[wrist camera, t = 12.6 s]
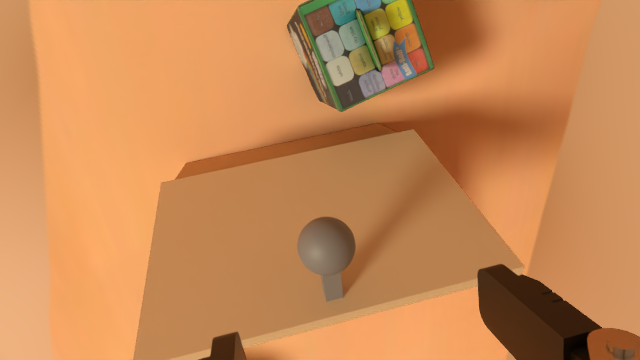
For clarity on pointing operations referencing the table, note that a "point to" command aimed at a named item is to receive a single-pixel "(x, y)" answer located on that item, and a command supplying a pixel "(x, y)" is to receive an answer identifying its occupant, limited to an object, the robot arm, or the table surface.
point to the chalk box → (358, 47)
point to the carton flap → (308, 245)
